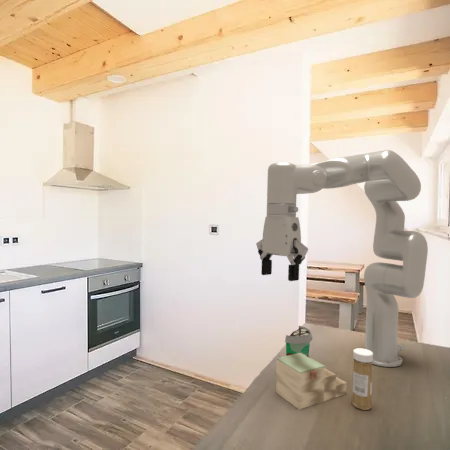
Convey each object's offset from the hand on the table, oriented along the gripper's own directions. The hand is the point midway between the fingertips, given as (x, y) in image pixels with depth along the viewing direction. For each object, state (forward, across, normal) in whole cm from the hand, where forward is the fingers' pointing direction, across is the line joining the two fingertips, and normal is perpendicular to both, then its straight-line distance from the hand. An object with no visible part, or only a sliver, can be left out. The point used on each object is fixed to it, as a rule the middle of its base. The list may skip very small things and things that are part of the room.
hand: (279, 277), depth 88 cm
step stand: (+30, -6, -7) cm, 31 cm away
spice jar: (+30, -16, -13) cm, 37 cm away
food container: (+30, +8, -19) cm, 37 cm away
